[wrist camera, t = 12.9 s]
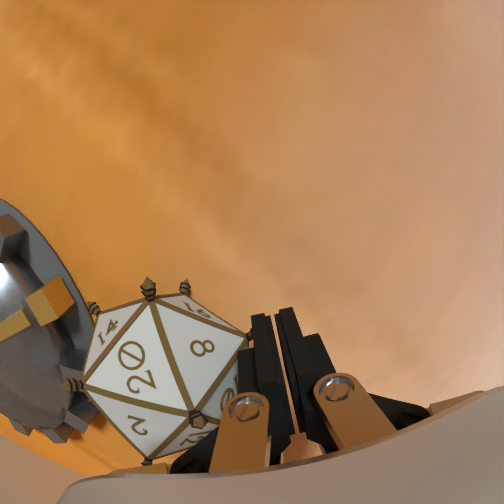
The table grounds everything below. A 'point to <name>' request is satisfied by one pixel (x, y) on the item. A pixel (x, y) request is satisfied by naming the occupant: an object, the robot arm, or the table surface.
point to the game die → (161, 370)
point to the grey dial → (36, 348)
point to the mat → (47, 269)
